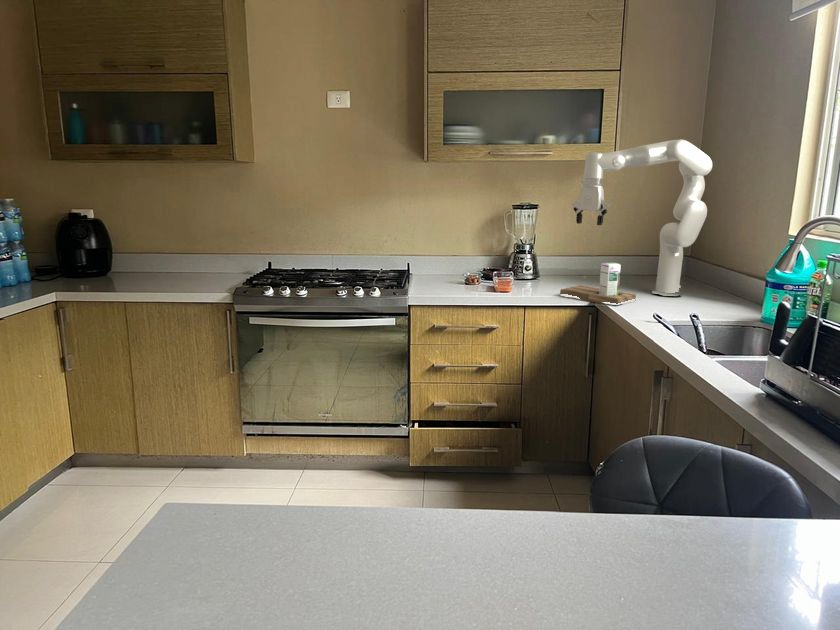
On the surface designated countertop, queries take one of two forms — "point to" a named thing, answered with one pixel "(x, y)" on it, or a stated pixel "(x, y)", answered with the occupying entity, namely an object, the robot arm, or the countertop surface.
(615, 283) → the syrup box
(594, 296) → the board
